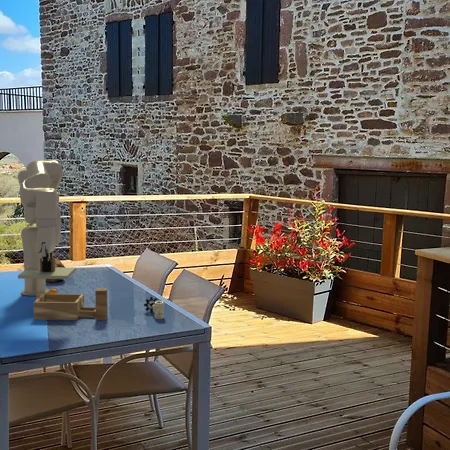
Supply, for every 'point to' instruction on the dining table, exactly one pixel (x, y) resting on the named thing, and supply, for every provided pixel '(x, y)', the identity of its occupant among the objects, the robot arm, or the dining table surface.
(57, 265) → the petrified wood
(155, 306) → the valve
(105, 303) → the brown rectangular block
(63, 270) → the lid
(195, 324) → the dining table surface
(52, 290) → the pipe clamp
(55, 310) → the toolbox
